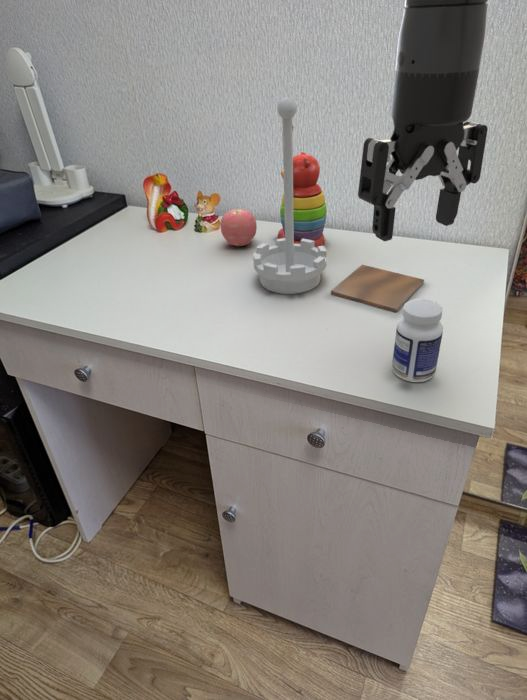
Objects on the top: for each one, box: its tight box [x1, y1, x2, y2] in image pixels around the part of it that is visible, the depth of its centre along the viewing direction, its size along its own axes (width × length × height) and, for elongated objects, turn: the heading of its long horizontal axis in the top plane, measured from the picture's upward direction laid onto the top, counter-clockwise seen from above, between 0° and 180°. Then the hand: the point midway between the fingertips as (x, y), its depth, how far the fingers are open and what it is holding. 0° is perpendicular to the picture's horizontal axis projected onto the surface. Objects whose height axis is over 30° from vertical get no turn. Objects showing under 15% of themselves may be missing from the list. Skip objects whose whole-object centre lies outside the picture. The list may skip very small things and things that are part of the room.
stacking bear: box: [277, 151, 328, 248], centre depth 98 cm, size 11×10×18 cm
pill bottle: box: [391, 298, 444, 383], centre depth 64 cm, size 6×6×10 cm
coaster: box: [330, 264, 425, 313], centre depth 86 cm, size 12×12×1 cm
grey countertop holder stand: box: [252, 97, 328, 295], centre depth 82 cm, size 13×13×30 cm
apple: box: [219, 208, 258, 247], centre depth 102 cm, size 7×7×8 cm
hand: (414, 230), depth 55 cm, fingers open, 8 cm apart
